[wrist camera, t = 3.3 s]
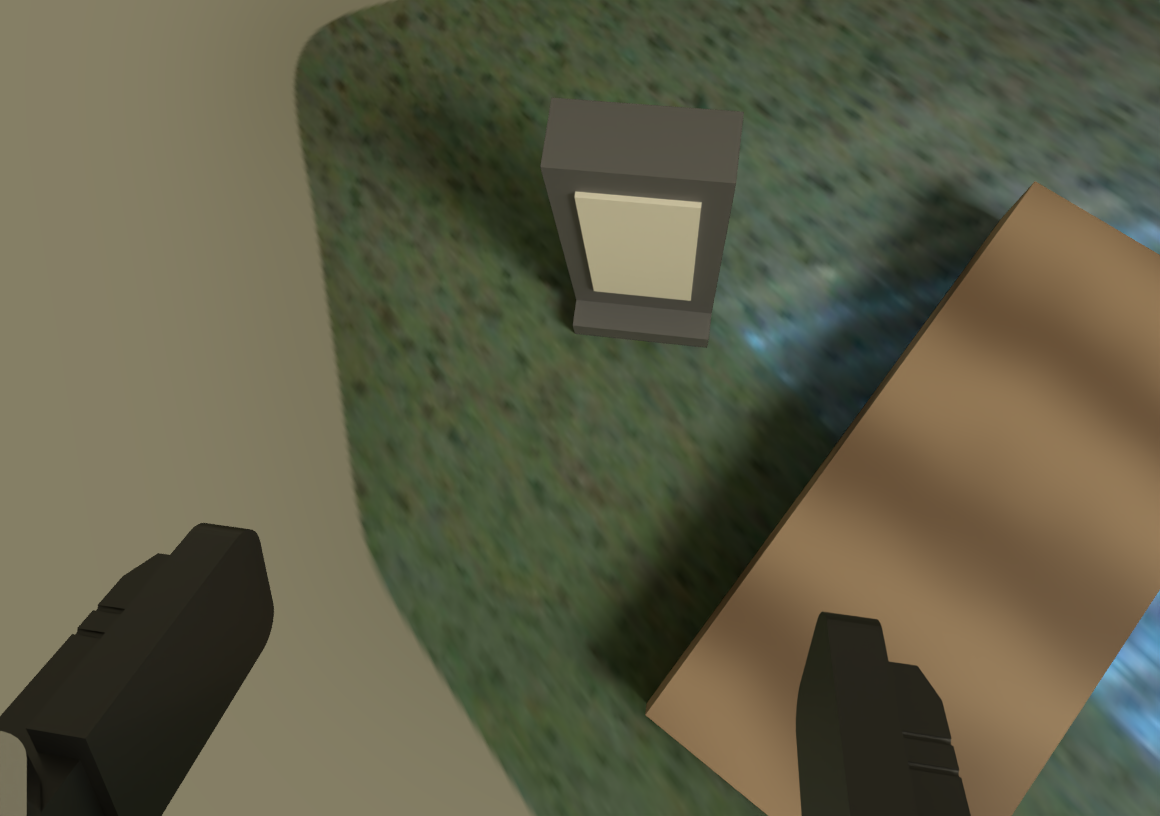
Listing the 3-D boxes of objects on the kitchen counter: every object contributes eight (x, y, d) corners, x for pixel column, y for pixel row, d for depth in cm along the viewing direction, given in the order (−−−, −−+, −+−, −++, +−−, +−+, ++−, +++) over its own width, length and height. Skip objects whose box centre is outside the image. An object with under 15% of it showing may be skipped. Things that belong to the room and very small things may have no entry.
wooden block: (1000, 219, 32) (1035, 181, 29) (1253, 373, 30) (1317, 348, 27) (646, 703, 29) (645, 714, 26) (897, 908, 27) (926, 945, 24)
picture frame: (589, 236, 33) (556, 64, 23) (717, 248, 33) (747, 77, 22) (575, 333, 32) (534, 202, 22) (706, 347, 32) (732, 220, 21)
